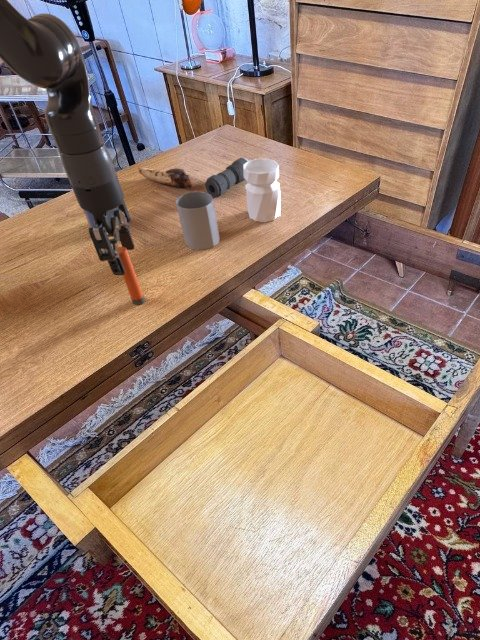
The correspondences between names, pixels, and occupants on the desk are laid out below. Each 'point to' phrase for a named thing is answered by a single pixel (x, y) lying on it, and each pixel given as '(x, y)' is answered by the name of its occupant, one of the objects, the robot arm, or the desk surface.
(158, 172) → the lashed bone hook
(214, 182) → the flashlight
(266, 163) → the vase
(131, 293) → the handle
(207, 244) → the cup
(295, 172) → the desk surface
